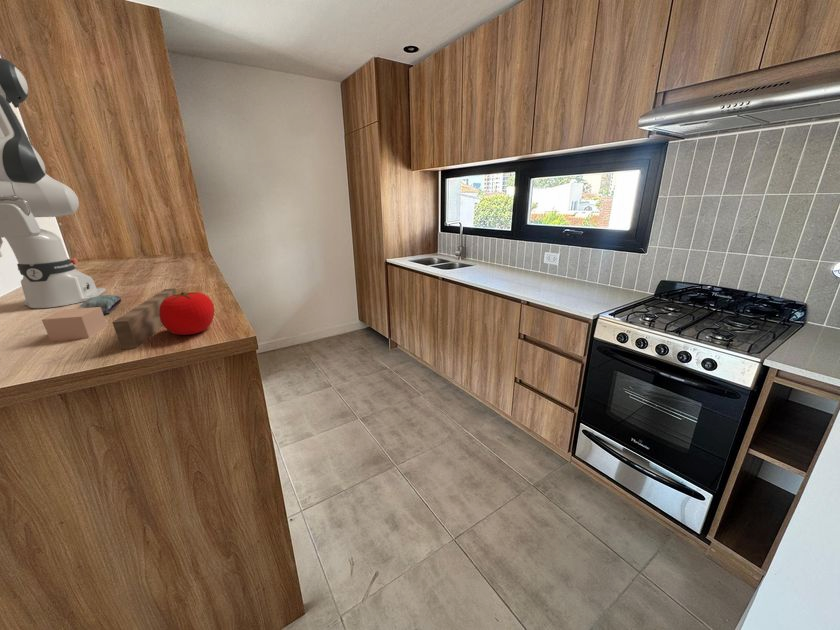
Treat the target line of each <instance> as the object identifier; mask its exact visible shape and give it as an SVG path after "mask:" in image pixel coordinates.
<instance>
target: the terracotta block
mask: <svg viewBox="0 0 840 630" xmlns="http://www.w3.org/2000/svg"><path fill="white" fill-rule="evenodd" d="M41 321H42V324H43V327H44V329H45V331H46V334H47V336H48V338H49V340H50V342H58V341H57V340H60V341H69V340H68V339H71V340H78V339H79V340H81V339H89V338H91V337H93V336H95V335H97V334H98V333H100V332H101V331H104V330H105V329H106V328H108V327H109V326H108V324H107V321H106V317H105V315H104V314H103V312H102V309H101V307H93V308H79V309H77V308H69V309H67V308H65V309H62V310H60V311H59V312H56V313H54V314H51V315H49V316H47V317H45V318H42V319H41Z"/></svg>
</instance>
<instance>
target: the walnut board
mask: <svg viewBox="0 0 840 630" xmlns="http://www.w3.org/2000/svg"><path fill="white" fill-rule="evenodd" d="M176 294H178V292H177V289H176V288H164V289H162V290H161V291H159V292H157V293H156V294H154V295H152V296H151V297H150V298H149V299H147V300H145V301H144V302H142V303H140V304H139V305H137V306H135V307H134V308H131V310H129V311H128V312H126V313H124V314H123V315H121V316H120V317H118V318H117V319H115V320H113V321H112V326H113V329H114V331H115V334H116V338H117V340H118V344H119V345H120V349H121V350H128V349H137V348H138V347H140V346H141V344H143V343H144V342H145V341H146V340H147V339H148V338H150V337H151V336H152V335H153V334H154V333H155V332H157V331H158V330H159V329H160V328H162V326H164V325H163V324H162V322H161V320H160V316H159V308H160V305H161V303H162V301H163V300H164V299H166V298H167V297H170V296H172V295H176Z"/></svg>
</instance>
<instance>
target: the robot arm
mask: <svg viewBox="0 0 840 630" xmlns="http://www.w3.org/2000/svg"><path fill="white" fill-rule="evenodd" d="M28 96H29V86H28V82H27V79H26V78H25V76H24V74H23V73H22V72H21V70H19V68H18V67H17V66H16V65H15V64H14V63H12V61H10V60H8V59H5V58H2V57H0V249H1V248H2V246H3V243H4V241H3V239H2V238H4V239H5V240H6V241H7V243H8V245H9V247H10V248H11V250H12V252H13V253H14V256H15V259H16V260H17V264H16V265H17V270H18V271H19V273H20V275H21V276H23V277H22V279H21V280H20V284H21V288H22V292H23V295H24V299H25V301H22V304H23V306H27V307H28V308H31V309H47V308H56V307H63V306H69V305H73V304H77V303H82V302H83V303H84V302H85V301H87V300H88V299H90V298H92V297H96V296H102V294H104V293H105V292H106V290H107V289H106V288H105V287H97V286H96V284H95V281H94V279H93V278H92V276H89V275H87V274H86V273H84V272H81V271H79V270H78V269H76V267H75V265H78V264H79V263H78V260H77V258H68V256H67V253H66V251H65V248H64V245H63V242H62V239H61V238H60V237H59V236H58V235H57V233H54V232H52V231H49V230H46V229H43V228H40V225H39V223H38V222H37V219H36V218H57V217H64V216H69V215H73V214H75V213H76V212H77V211H78V210H79V207H80V200H79V198H78V195H77V194H76V192H75V191H74V190H73V189H72V188H71V187H70V186H68V185H67V184H65V183H62V182H60V181H58V180H56V179H55V178H53V177H51V176H50V175H48V174H47V173H46V166H45V162H44V161H43V159H42V157H41V155H40V154H39V152H38V151H37V150H36V149H35V147H34V146H33V145H32V144H31V142H30V140H29V137H28V135H27V133H26V131H25V129H24V128H23V126H22V123H21V122H20V120H19V119H18V116H17V114H16V113H15V111H14V110H13V108H12V106H13V107H14V108H15V109H17V108H18V109H19V107H20V104H21V103H23V102H25V101H26V100H27V98H28ZM11 103H12V106H11V105H10V104H11ZM2 256H3V254H2V253H1V251H0V258H1V257H2Z"/></svg>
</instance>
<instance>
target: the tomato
mask: <svg viewBox="0 0 840 630" xmlns="http://www.w3.org/2000/svg"><path fill="white" fill-rule="evenodd" d="M159 316H160V320H161V322H162V324H163V325H162V326H163V327H164V328H165V329H166V330H168V331H169V332H170V333H172V334H174V335H179V336H186V335H188V336H189V335H197V334H198V333H202V332H203V331H206V330H207V328H209V326H211V324H212V323H213V322H214V321H213V320H214V317H215V304H214V303H213V300H212V299H211V297H210V296H208V295H206V294H205V293H203V292H198V291H193V292H192V291H191V292H187V291H184V292H183V291H182V292H180V293H177V294H176V295H172V296H170V297H167V298H166V299H164V300H163V301H162V303H161V305H160V308H159Z"/></svg>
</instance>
